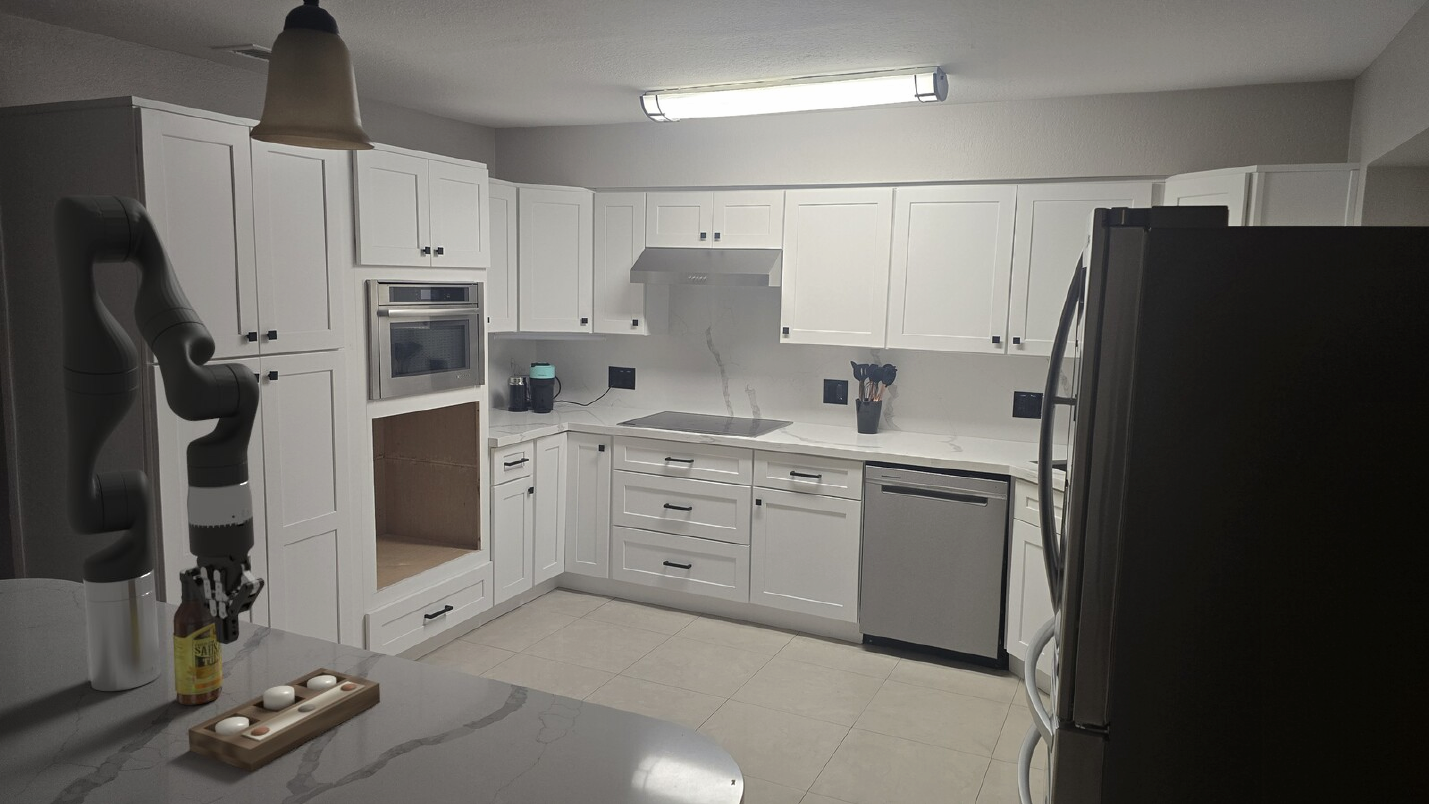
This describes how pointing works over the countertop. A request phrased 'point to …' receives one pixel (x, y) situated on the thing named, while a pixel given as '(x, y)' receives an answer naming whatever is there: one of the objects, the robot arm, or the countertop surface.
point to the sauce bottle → (195, 650)
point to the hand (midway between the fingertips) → (227, 641)
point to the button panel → (284, 721)
